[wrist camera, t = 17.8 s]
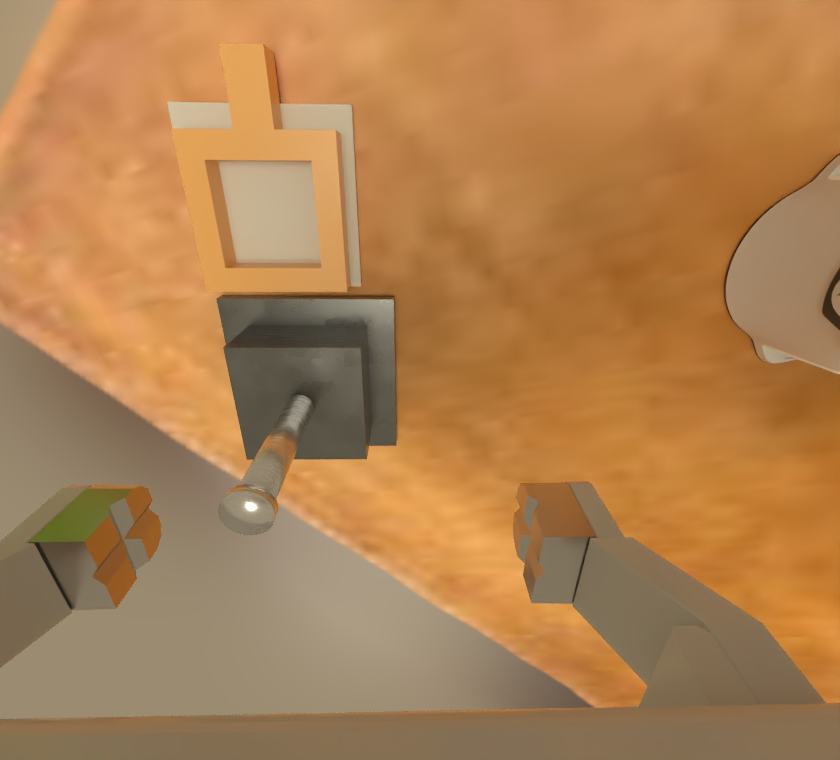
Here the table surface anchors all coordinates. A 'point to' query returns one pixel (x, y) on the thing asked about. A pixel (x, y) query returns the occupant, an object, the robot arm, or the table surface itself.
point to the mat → (279, 187)
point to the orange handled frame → (261, 142)
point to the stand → (305, 388)
